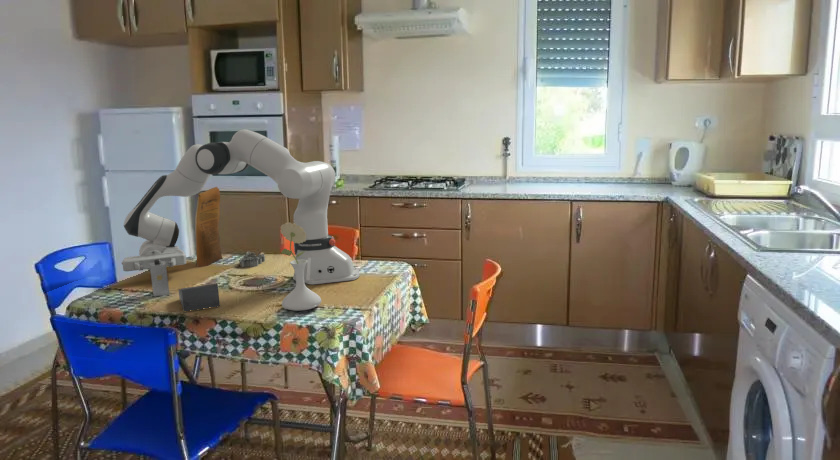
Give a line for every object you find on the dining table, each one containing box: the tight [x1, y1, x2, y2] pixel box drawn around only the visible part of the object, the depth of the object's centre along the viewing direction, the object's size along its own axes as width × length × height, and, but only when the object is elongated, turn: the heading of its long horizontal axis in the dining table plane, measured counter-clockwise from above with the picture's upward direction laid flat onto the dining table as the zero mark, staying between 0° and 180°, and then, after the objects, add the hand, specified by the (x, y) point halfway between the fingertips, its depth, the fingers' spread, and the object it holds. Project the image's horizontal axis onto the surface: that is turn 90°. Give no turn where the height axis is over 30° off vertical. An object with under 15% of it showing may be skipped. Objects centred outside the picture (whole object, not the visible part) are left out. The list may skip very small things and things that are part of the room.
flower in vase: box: [280, 222, 323, 312], centre depth 181 cm, size 13×11×25 cm
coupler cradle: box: [178, 283, 221, 312], centre depth 190 cm, size 14×10×7 cm
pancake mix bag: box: [194, 186, 223, 268], centre depth 238 cm, size 7×19×28 cm, turn 168°
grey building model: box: [238, 250, 266, 268], centre depth 236 cm, size 11×8×4 cm
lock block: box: [149, 259, 170, 298], centre depth 200 cm, size 6×5×11 cm
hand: (156, 266), depth 211 cm, fingers open, 8 cm apart
